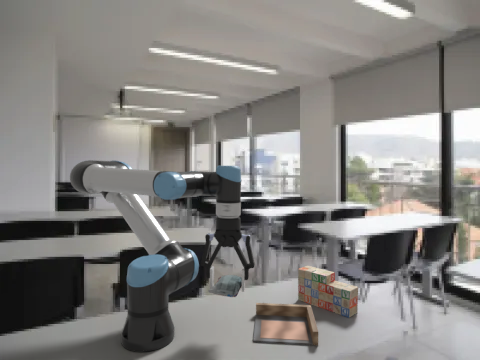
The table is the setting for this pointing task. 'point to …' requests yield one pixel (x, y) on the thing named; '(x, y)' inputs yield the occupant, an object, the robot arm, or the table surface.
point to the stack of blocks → (327, 291)
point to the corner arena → (285, 324)
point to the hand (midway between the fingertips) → (227, 289)
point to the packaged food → (227, 286)
